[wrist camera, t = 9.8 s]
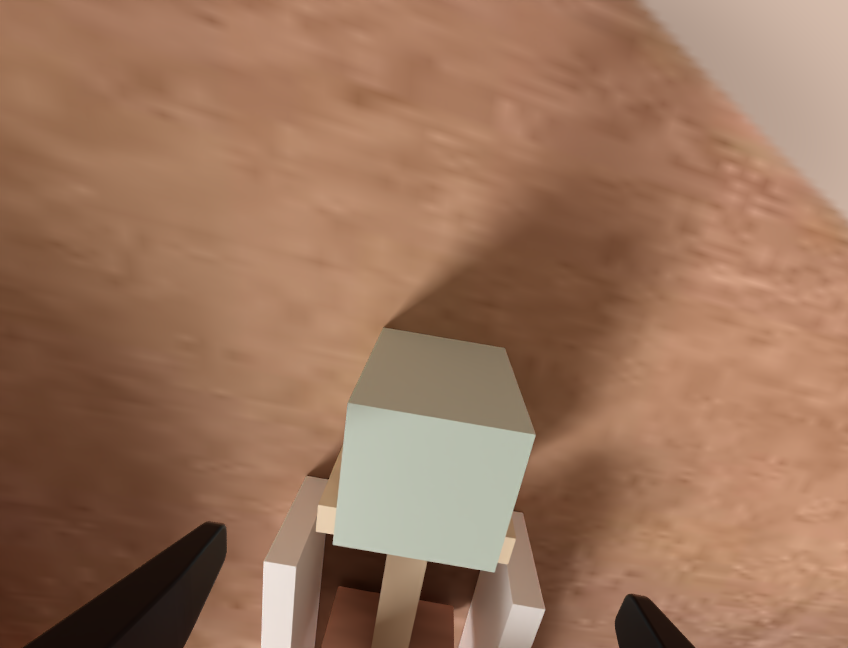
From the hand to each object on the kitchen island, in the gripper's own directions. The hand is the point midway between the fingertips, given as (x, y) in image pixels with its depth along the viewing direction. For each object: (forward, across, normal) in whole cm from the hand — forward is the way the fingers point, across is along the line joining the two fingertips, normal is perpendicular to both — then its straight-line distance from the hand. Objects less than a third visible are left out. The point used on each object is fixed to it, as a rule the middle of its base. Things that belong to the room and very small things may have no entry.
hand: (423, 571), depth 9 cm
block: (+8, 0, 0) cm, 9 cm away
